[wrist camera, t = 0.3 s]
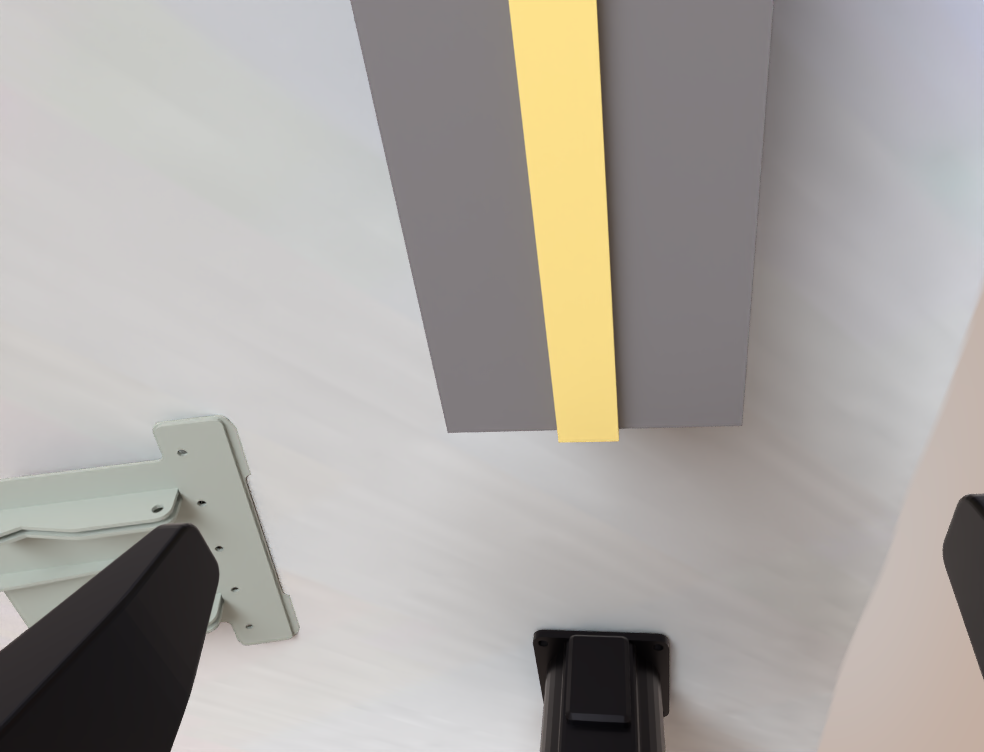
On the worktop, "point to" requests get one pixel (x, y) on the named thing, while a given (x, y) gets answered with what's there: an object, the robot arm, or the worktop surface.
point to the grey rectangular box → (576, 202)
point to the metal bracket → (145, 527)
